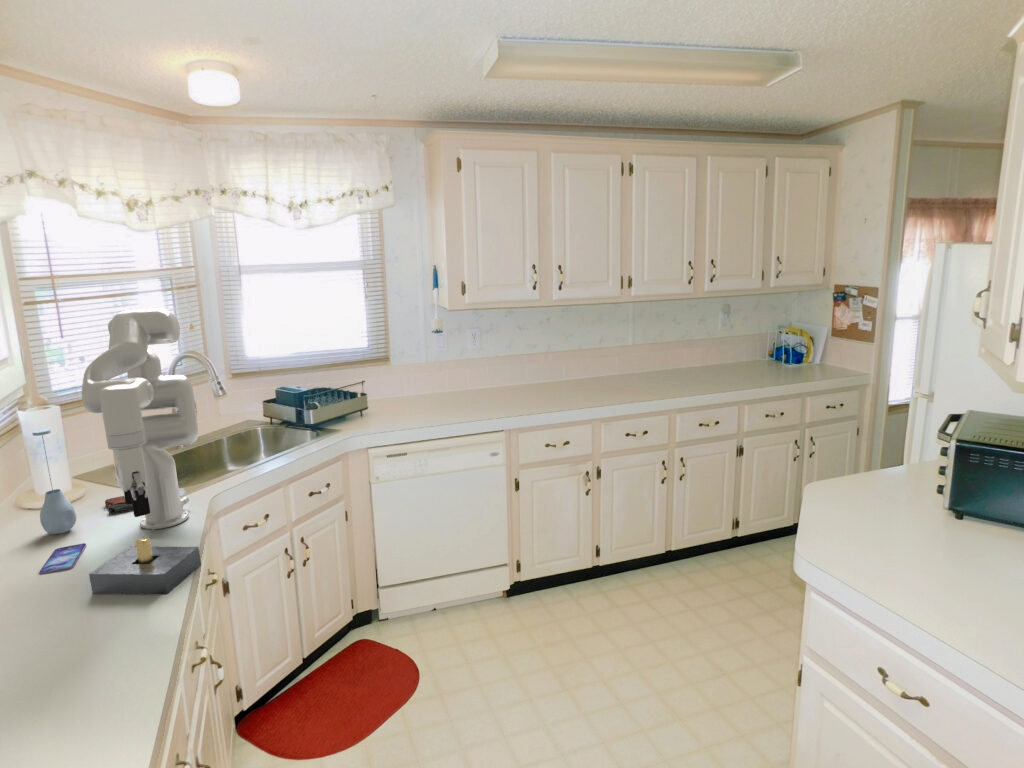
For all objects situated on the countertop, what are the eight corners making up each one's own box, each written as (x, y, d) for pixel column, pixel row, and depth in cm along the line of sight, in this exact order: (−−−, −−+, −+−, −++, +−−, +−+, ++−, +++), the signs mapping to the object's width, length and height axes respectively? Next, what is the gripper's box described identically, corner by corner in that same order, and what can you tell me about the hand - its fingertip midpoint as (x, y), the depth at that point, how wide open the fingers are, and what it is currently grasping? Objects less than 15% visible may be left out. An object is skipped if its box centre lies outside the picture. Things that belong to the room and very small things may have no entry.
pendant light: (74, 524, 188) (56, 425, 182) (81, 531, 182) (62, 430, 176) (41, 533, 182) (21, 431, 176) (46, 541, 177) (26, 436, 171)
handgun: (160, 488, 211) (167, 497, 202) (161, 495, 212) (167, 505, 202) (104, 498, 202) (108, 508, 192) (105, 506, 202) (109, 516, 193)
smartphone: (37, 573, 157) (55, 548, 171) (38, 577, 157) (55, 551, 171) (72, 566, 160) (87, 542, 173) (73, 569, 160) (87, 545, 174)
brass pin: (146, 576, 155) (140, 537, 153) (158, 576, 154) (152, 537, 152) (138, 582, 152) (132, 542, 150) (151, 582, 151) (144, 542, 149)
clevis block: (132, 564, 161) (129, 546, 160) (201, 565, 159) (198, 546, 158) (92, 593, 147) (88, 573, 146) (166, 594, 145) (163, 574, 144)
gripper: (100, 434, 150) (112, 502, 154) (114, 451, 137) (126, 525, 141) (137, 427, 155) (147, 494, 159) (153, 443, 142) (164, 515, 146)
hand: (138, 508), depth 150 cm, fingers open, 9 cm apart
